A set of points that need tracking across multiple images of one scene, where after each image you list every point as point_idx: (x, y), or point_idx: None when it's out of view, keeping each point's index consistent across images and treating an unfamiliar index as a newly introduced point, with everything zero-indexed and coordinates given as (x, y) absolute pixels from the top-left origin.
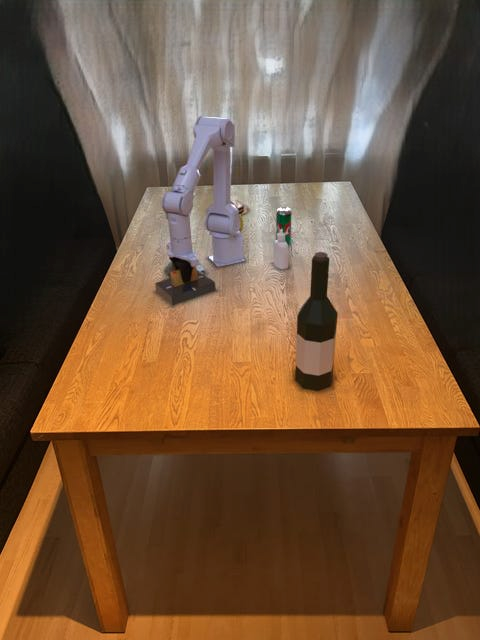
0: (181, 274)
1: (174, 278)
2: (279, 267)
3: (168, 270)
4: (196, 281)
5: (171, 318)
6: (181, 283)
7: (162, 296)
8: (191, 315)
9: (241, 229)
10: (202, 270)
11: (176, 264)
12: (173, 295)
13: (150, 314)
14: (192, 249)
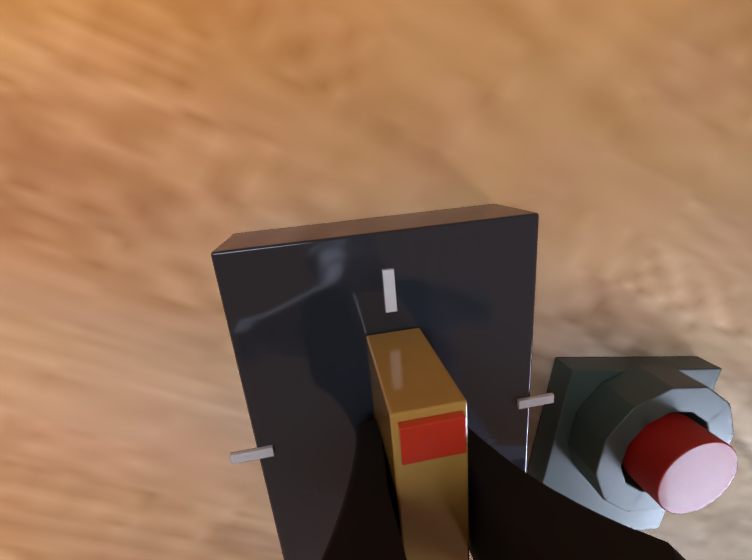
0: (373, 480)
1: (379, 387)
2: None
3: (662, 371)
4: None
5: (26, 150)
6: (373, 401)
7: (396, 215)
8: (22, 307)
9: None
10: None
11: (510, 541)
12: (223, 275)
13: (172, 7)
14: None
